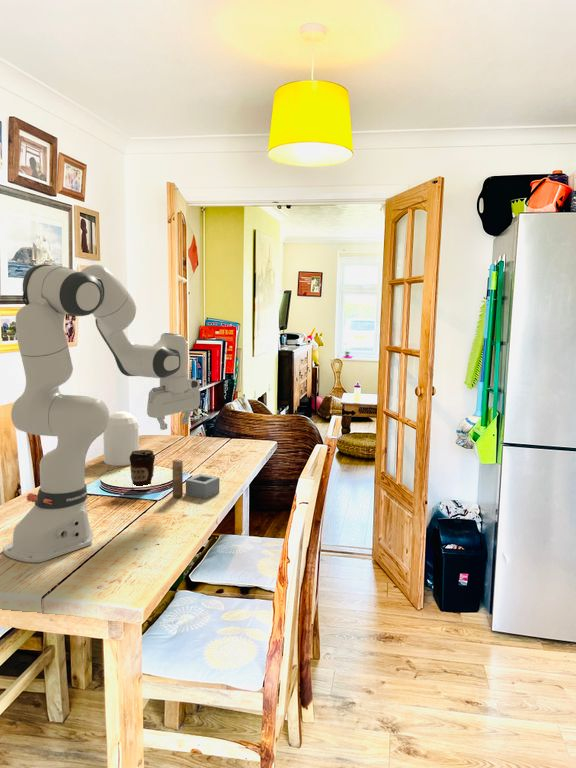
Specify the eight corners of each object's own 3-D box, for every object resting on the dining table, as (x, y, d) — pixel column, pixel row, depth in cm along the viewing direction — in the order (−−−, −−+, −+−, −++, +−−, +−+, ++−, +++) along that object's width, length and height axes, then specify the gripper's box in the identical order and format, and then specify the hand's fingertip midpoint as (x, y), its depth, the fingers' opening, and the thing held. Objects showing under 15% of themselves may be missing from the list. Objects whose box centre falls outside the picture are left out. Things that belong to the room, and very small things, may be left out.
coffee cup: (148, 494, 193) (147, 455, 191) (125, 491, 194) (124, 454, 193) (159, 486, 201) (158, 449, 199) (136, 483, 203) (136, 447, 201)
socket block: (205, 498, 190) (205, 484, 189) (185, 494, 193) (185, 480, 193) (219, 492, 197) (219, 477, 196) (200, 487, 200) (200, 473, 200)
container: (137, 455, 239) (136, 407, 237) (141, 464, 227) (140, 413, 224) (102, 457, 235) (101, 408, 232) (105, 466, 222) (104, 415, 219)
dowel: (178, 498, 189) (178, 463, 187) (170, 497, 190) (170, 461, 189) (184, 496, 192) (184, 460, 190) (176, 494, 193) (176, 459, 191)
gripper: (156, 389, 174) (157, 434, 177) (203, 381, 191) (203, 422, 193) (141, 387, 178) (143, 431, 180) (189, 378, 194) (189, 419, 197)
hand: (174, 426), depth 187 cm, fingers open, 8 cm apart
